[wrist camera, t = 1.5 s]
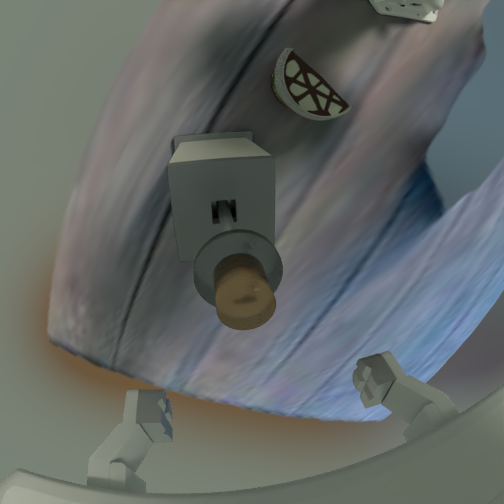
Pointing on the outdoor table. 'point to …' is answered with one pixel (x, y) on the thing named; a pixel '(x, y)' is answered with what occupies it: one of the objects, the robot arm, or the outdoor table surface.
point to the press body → (219, 187)
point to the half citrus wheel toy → (305, 89)
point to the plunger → (238, 272)
